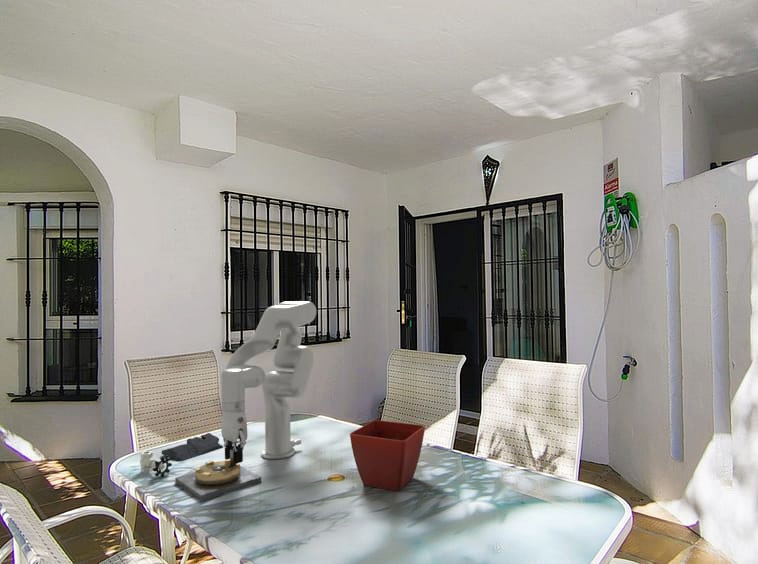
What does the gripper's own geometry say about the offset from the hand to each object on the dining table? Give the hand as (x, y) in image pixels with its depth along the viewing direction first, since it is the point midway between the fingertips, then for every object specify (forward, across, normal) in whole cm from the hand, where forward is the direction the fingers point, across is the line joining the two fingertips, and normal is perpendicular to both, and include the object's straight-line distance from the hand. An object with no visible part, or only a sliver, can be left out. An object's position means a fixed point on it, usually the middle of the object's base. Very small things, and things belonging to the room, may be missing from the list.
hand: (233, 460), depth 162 cm
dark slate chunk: (+7, +39, -2) cm, 39 cm away
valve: (+6, +25, +17) cm, 31 cm away
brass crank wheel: (+4, 0, +6) cm, 7 cm away
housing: (+6, 0, +6) cm, 8 cm away
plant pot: (+6, -40, -34) cm, 53 cm away
